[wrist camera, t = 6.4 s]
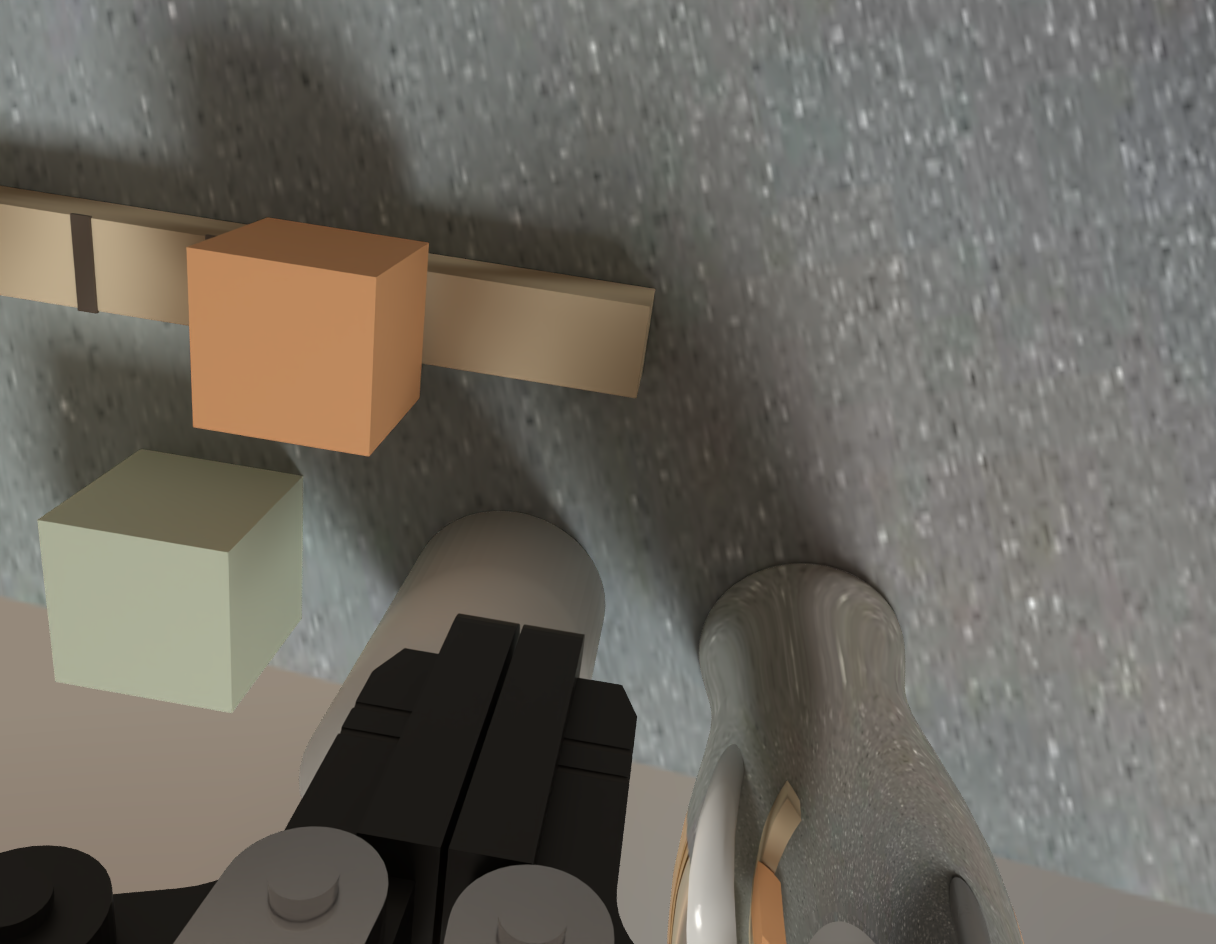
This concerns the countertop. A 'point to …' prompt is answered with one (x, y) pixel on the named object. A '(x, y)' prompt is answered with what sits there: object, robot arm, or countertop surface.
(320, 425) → the block
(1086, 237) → the countertop surface
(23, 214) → the rail
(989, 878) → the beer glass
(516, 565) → the grey rounded cylinder
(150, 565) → the sage block
